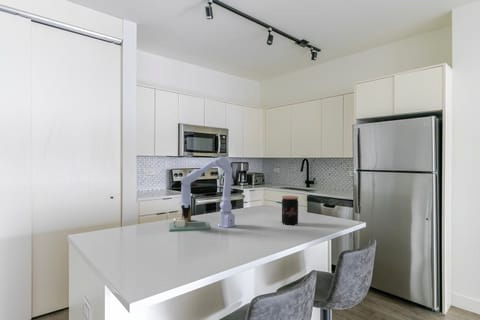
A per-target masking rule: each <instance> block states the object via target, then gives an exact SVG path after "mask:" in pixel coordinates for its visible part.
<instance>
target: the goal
mask: <svg viewBox="0 0 480 320" xmlns="http://www.w3.org/2000/svg"><path fill="white" fill-rule="evenodd" d="M178 219H180V220H178ZM176 220H177V221H176ZM173 223H174V228H176V227H185V220H184V218H182V217H174V218H173Z"/></svg>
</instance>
